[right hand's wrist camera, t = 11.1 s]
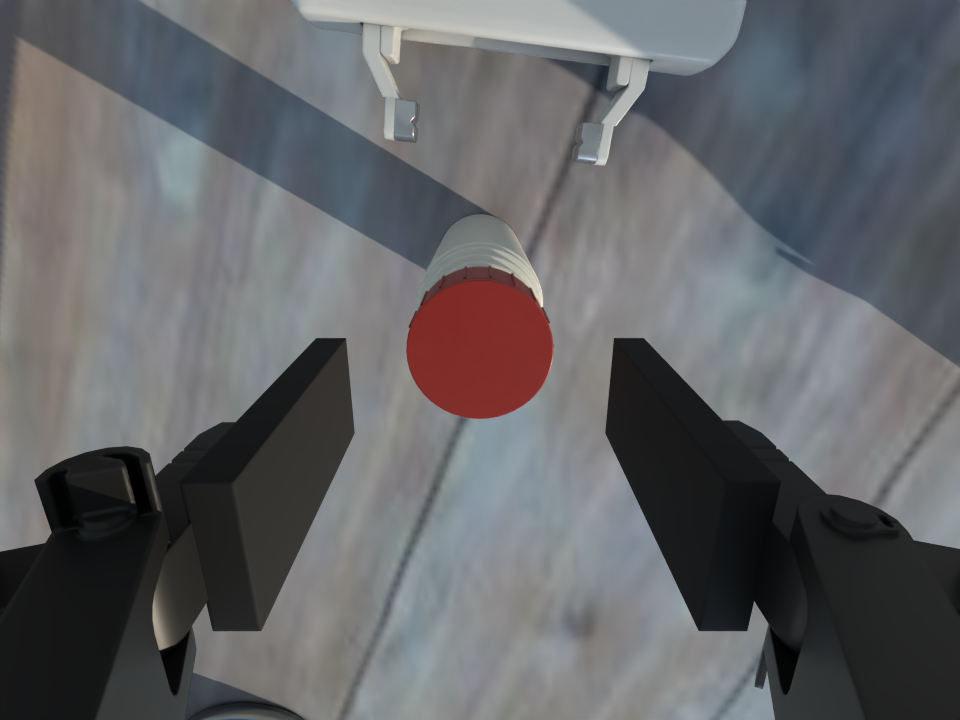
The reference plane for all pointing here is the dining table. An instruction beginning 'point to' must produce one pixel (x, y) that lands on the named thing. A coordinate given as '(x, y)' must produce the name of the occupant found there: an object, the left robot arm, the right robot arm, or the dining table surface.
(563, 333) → the dining table surface
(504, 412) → the cap
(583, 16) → the left robot arm
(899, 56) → the dining table surface
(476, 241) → the bottle
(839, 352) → the dining table surface
